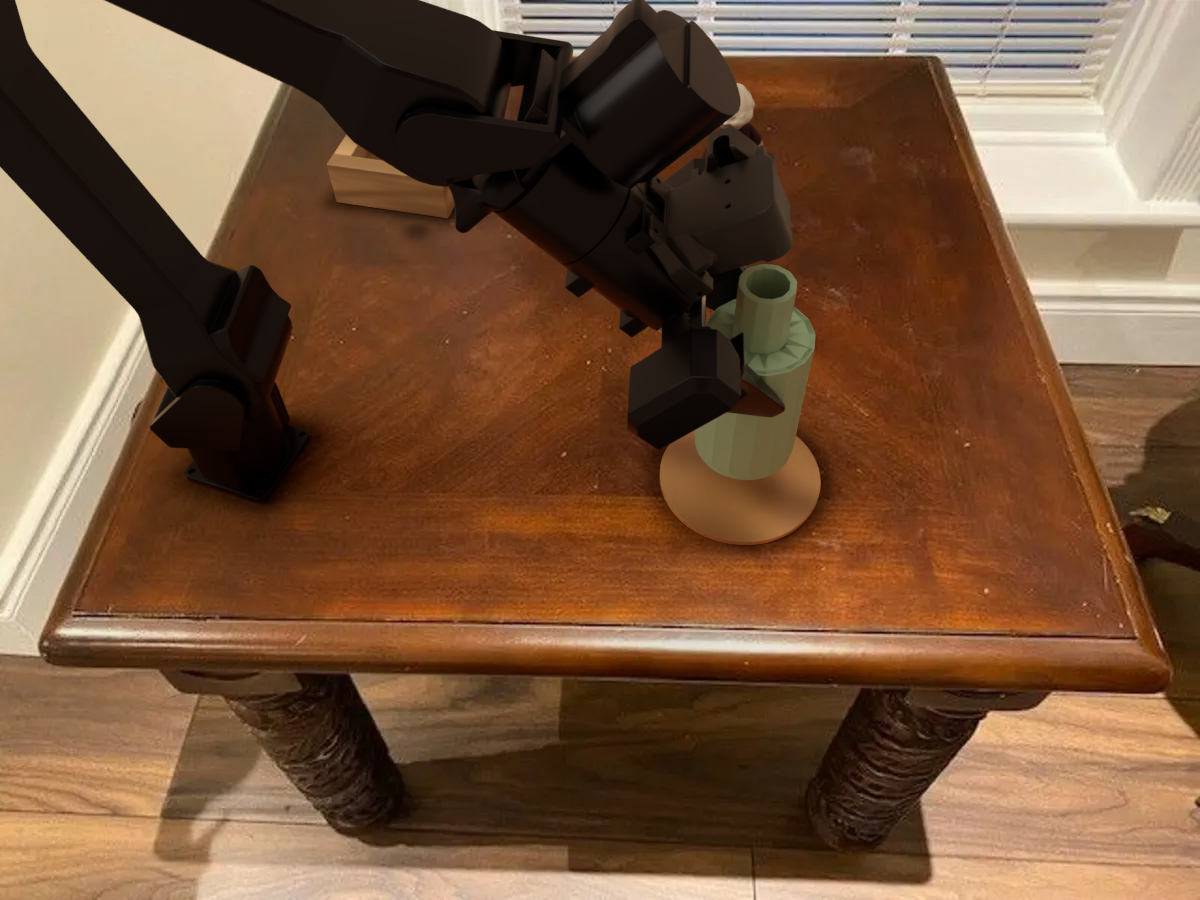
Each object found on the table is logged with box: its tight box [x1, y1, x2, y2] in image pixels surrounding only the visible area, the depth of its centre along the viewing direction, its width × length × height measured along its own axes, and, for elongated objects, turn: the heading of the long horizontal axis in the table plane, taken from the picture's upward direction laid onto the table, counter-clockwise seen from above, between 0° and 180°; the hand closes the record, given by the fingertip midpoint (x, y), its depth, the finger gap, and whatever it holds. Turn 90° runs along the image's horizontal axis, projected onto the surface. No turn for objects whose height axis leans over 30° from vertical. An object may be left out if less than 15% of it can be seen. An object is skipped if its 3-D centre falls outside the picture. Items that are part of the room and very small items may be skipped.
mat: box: [659, 430, 822, 546], centre depth 71 cm, size 11×11×1 cm
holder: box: [326, 133, 455, 219], centre depth 92 cm, size 10×10×4 cm
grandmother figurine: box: [700, 82, 767, 159], centre depth 83 cm, size 8×4×13 cm, turn 141°
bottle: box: [695, 263, 816, 480], centre depth 63 cm, size 6×6×14 cm
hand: (776, 369), depth 63 cm, fingers closed on bottle, 6 cm apart
